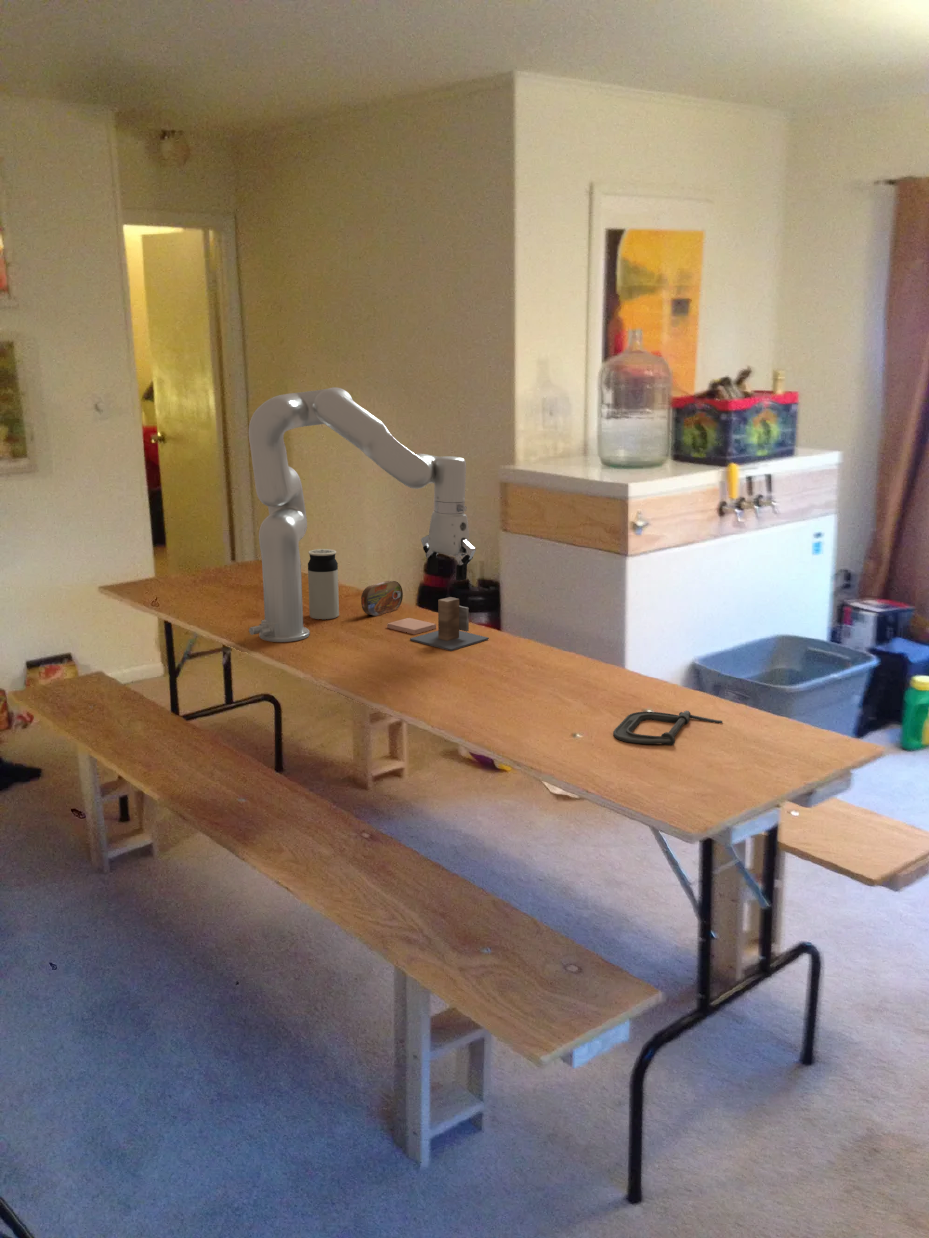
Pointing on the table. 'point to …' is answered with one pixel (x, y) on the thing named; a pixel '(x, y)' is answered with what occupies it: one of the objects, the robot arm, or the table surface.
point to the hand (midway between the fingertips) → (446, 576)
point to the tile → (411, 626)
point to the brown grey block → (451, 618)
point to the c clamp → (634, 719)
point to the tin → (381, 598)
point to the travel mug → (323, 584)
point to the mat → (450, 645)
